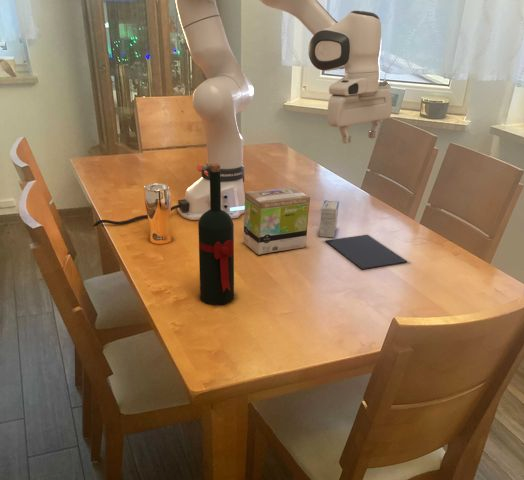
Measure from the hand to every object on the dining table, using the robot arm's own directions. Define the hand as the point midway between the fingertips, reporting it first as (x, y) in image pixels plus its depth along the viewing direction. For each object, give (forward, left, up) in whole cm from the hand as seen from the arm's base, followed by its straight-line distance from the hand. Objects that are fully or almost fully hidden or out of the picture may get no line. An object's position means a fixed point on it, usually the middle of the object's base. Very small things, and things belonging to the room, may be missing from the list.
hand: (359, 140), depth 148 cm
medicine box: (-6, +2, -27) cm, 27 cm away
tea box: (-25, -2, -27) cm, 37 cm away
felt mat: (-3, -14, -26) cm, 30 cm away
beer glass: (-54, +12, -27) cm, 61 cm away
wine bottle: (-50, -27, -27) cm, 63 cm away
